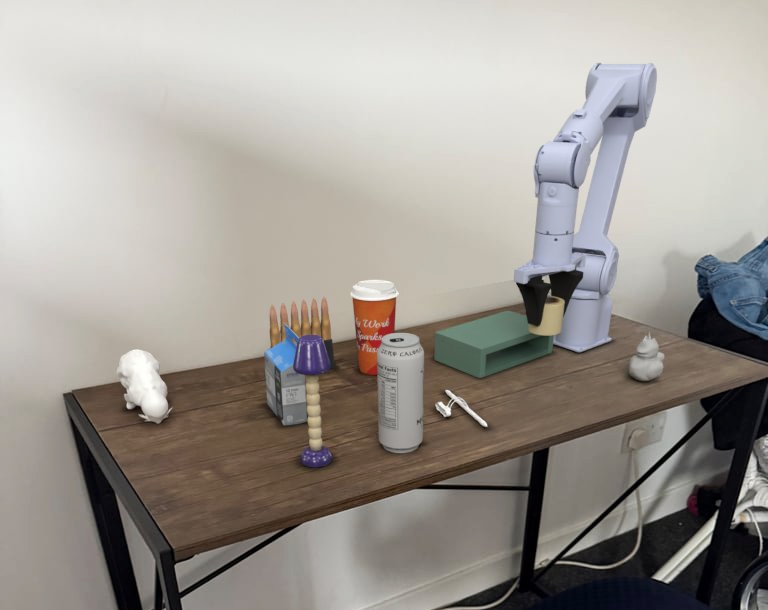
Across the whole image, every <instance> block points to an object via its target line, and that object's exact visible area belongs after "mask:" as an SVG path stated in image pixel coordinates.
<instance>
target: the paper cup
mask: <svg viewBox="0 0 768 610" xmlns="http://www.w3.org/2000/svg"><path fill="white" fill-rule="evenodd" d="M397 289H398V288H397V287H396V285H395V283H394V282H393V281H389V280H384V279H366V280H361V281H358V282H356V283H355V284H353V285H352V290H351V291H350V297H351V298H352V308H353V319H354V329H355V340H356V349H357V350H356V351H357V358H358V361H357V362H358V367H359V371H360V372H361V373H362V374H365V375H370V376H377V351H378V349H379V347H380V345H381V343H382V337H384V336H385V335H388V334H392V333H396V330H395V329H396V311H397V310H396V309H397V297H398V296H399V295H400V293H399V291H398V290H397Z"/></svg>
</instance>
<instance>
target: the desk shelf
mask: <svg viewBox="0 0 768 610" xmlns="http://www.w3.org/2000/svg"><path fill="white" fill-rule="evenodd" d="M528 327H529V324H528V322H527V316H526V314H525V315H524V314H522V313H518V312H515V311H511V310H509V309H508V310H504V311H500V312H497V313H494V314H491V315H487V316H484V317H480V318H477V319H475V320H471V321H468V322H465V323H461V324H458V325H454V326H451V327H447V328H444V329H440V330H437V331H435V332H434V355H433V359H434V361H436V362H438V363H441V364H443V365H445V366H448V367H450V368H453V369H455V370H458V371H460V372H463V373H466V374H467V375H470V376H473V377H475V378H478V379H482V378H486V377H488V376H491V375H493V374H496V373H499V372H502V371H505V370H508V369H510V368H514V367H516V366H518V365H522V364H525V363H527V362H530V361H533V360H535V359H538V358H541V357H544V356H547V355H549V354H552V353H553V350H554V349H553V347H554V344H553V340H554V336H555V335H551V336H543V335H536V334H533V333H531V332H530V331H529V330H528Z"/></svg>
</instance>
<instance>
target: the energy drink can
mask: <svg viewBox="0 0 768 610" xmlns="http://www.w3.org/2000/svg"><path fill="white" fill-rule="evenodd" d="M420 340H421V339H420V337H419V336H418V335H416V334H414V333H408V332H395V333H392V334H388V335H385V336H384V337H382V343H381V345H380V347H379V349H378V351H377V375H376V376H377V418H378V419H377V421H378V422H377V423H378V424H377V425H378V426H377V427H378V442H379V443H380V444H381V445H382V448H383V449H384V450H385V451H388V452H390V453H393V454H407V453H408V454H409V453H412V452H414V451H415V450H417V449H418V448H419V446H420V444H421V443H422V442H423V439H424V392H425V391H424V390H425V389H424V384H425V383H424V382H425V380H424V379H425V378H424V377H425V350H424V348H423V347H422V344H421V343H420Z"/></svg>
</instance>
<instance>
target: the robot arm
mask: <svg viewBox="0 0 768 610" xmlns="http://www.w3.org/2000/svg"><path fill="white" fill-rule="evenodd" d="M657 71H658V70H657V68H656V66H655V64H654V63H653V62H648V63H601V62H595V64H593V65H592V67H591V68H590V69H589V72H588V74H587V77H586V82H585V92H584V94H585V102H584V104H583V106H582V108H580V109H575V110H574V111H573V112H572V113H570V115H569V116H568V117H567V119H566V120H565V122H564V123H563V125H562V127H561V128H560V130H559V131H558V132H557V134H556V135H555V137H554V138H553V140H552V141H546V142H545V143H544V144H542V145H540V146H539V148H538V149H537V152H536V154H535V159H534V164H533V179H534V184H535V185H534V194H535V195H534V197H535V198H537V205H536V214H535V226H534V227H535V228H534V239H533V251H532V259H531V260H529V261H528V262H526V263H524V264H522V265H521V266H519V267H516V268H514V272H513V283H515V284H516V287H517V289H518V291H519V293H520V294H521V297H522V298H521V299H522V301H523V304H524V310H525V316H527V322H528V324H531V325H534V326H540V324H541V321H542V317H543V311H544V305H545V302H546V298H547V296H549V293H550V296H554V297H559V298H561V299H563V300H564V301H565V304H564V313H563V321H562V330H561V333H559V334H557V335H554V340H553V346H558V347H560V348H564V349H568V350H570V351H573V352H576V353H583V352H585V351H588V350H590V349H593V348H596V347H599V346H601V345H604V344H607V343H609V342H612V340H613V338H612V337H609V333H610V332H609V331H610V325H611V319H612V312H613V301H612V297H611V295H610V294H609V293H610V292H611V291H612V289H613V287H614V285H615V281H616V279H617V272H618V263H619V258H620V254H619V250H618V249H619V248H617V246H616V244H614V243H613V241H612V240H611V239H610V238H609V237H608V233H609V230H610V225H611V222H612V217H613V214H614V209H615V206H616V203H617V198H618V194H619V190H620V187H621V183H622V178H623V176H624V175H623V174H624V170H625V167H626V164H627V163H626V162H627V159H628V154H629V151H630V147H631V144H632V142H633V138H634V136H635V133H636V132H638V131H640V130H642V129H643V128H645V127H646V125H647V123H648V120H649V118H650V114H651V110H652V107H653V103H654V99H655V95H656V89H657V79H658V72H657ZM599 142H600V144H599ZM598 144H599V149H598V152H597V156H596V160H595V165H594V168H593V172H592V177H591V181H590V184H589V189H588V192H587V197H586V200H585V204H584V208H583V213H582V217H581V221H580V225H579V228H578V231H577V232H576V233H575V226H576V219H577V209H578V202H579V201H578V200H579V192H580V187H582V185H583V184H584V182H585V180H586V177H587V173H588V169H589V167H590V165H591V158H592V157H591V155H593V152H594V151H595V149H596V147H597V146H598ZM547 276H548V279H549V282H546V281H545V279H543V277H547Z"/></svg>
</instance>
